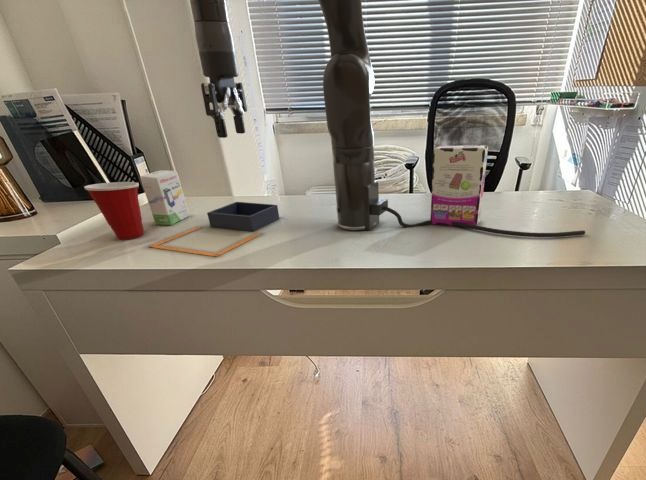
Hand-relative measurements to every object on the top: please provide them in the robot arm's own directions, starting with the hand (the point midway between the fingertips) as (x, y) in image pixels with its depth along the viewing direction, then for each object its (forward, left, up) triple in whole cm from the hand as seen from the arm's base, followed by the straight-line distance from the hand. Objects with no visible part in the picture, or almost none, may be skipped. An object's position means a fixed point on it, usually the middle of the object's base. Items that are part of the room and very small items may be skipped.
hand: (232, 135), depth 93 cm
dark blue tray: (-3, +5, -19) cm, 20 cm away
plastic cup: (+18, +22, -20) cm, 35 cm away
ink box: (+18, +9, -20) cm, 28 cm away
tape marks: (-3, +19, -19) cm, 27 cm away
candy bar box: (-54, -9, -20) cm, 58 cm away
